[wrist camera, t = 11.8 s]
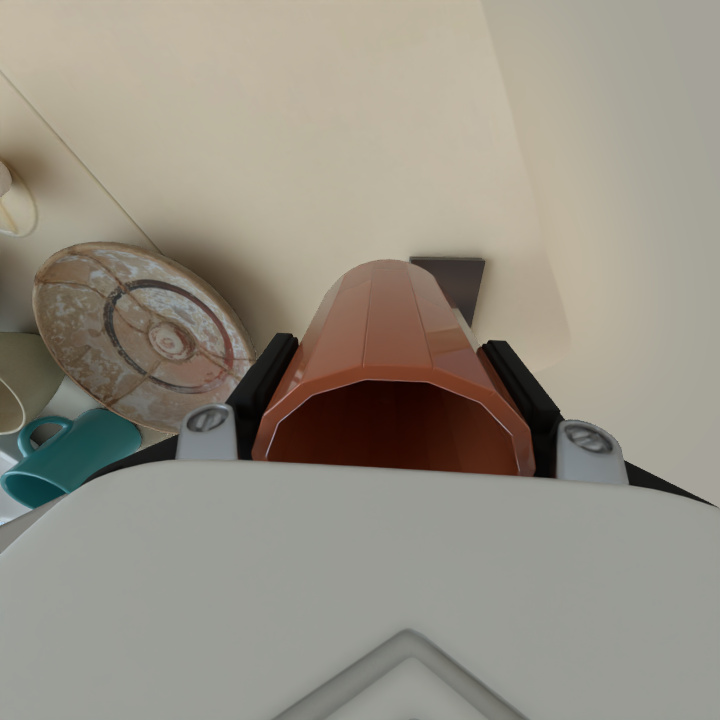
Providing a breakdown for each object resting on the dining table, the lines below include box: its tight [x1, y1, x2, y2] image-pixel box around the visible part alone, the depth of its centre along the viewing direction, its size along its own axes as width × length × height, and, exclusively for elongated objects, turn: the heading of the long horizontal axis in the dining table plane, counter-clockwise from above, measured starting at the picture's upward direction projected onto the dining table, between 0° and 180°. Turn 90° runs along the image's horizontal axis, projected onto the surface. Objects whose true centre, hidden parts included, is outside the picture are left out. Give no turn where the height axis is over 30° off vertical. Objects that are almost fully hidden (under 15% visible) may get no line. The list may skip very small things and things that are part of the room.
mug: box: [251, 259, 536, 477], centre depth 12 cm, size 11×7×9 cm, turn 0°
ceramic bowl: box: [32, 242, 257, 435], centre depth 33 cm, size 23×24×5 cm
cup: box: [0, 409, 141, 510], centre depth 39 cm, size 9×12×11 cm
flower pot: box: [0, 332, 65, 435], centre depth 34 cm, size 12×12×9 cm
